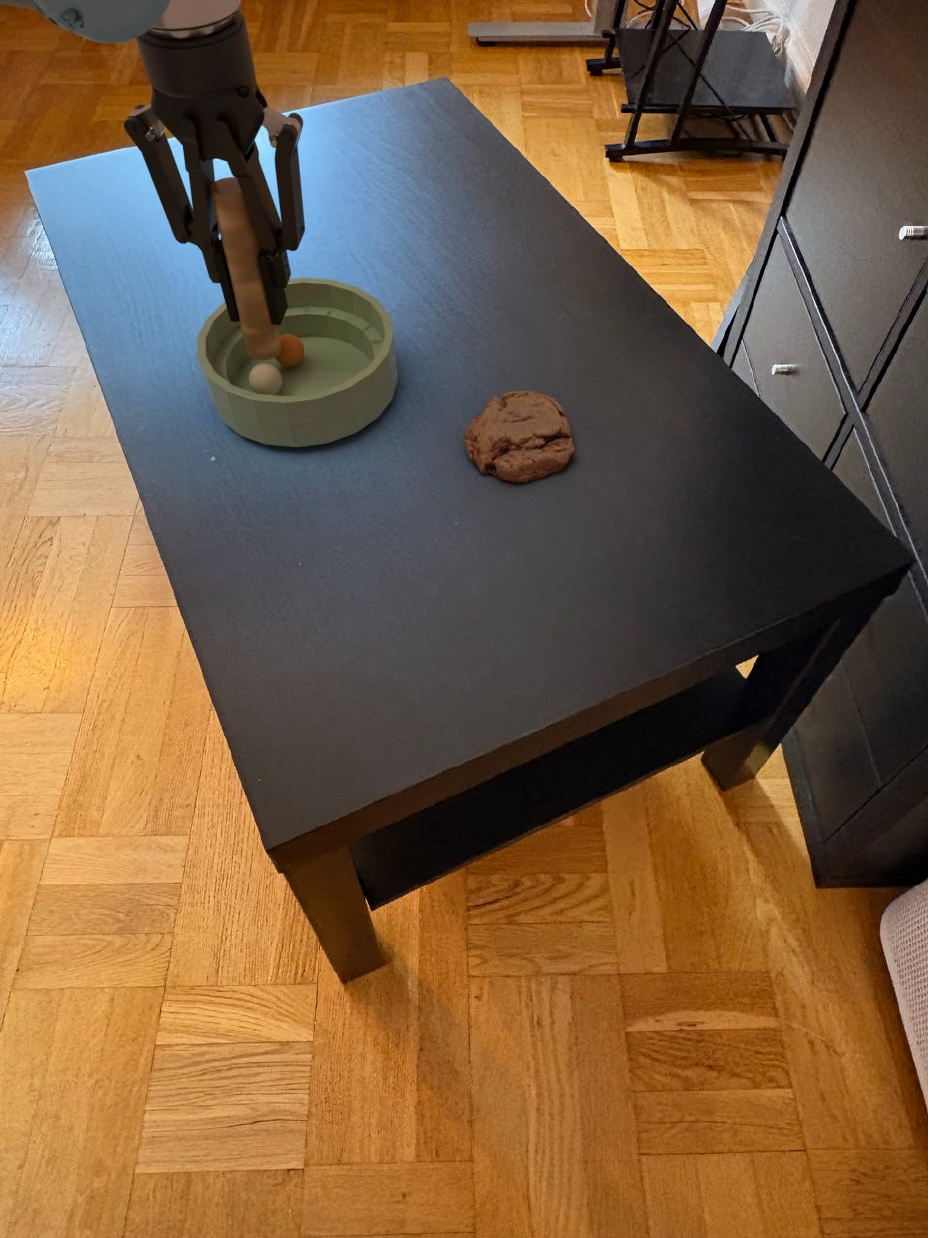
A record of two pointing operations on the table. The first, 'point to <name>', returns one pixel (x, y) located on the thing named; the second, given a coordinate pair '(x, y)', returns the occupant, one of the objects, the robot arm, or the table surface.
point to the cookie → (520, 437)
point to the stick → (245, 269)
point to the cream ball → (265, 379)
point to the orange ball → (290, 351)
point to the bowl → (306, 367)
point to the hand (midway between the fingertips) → (259, 313)
